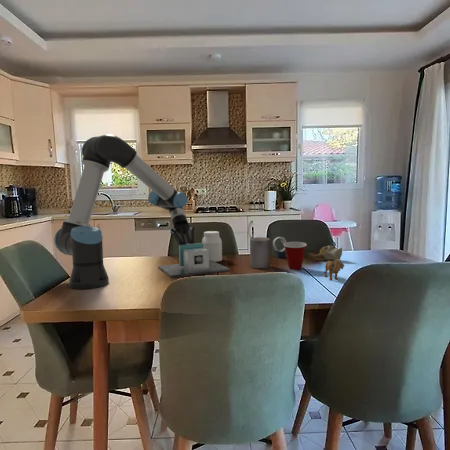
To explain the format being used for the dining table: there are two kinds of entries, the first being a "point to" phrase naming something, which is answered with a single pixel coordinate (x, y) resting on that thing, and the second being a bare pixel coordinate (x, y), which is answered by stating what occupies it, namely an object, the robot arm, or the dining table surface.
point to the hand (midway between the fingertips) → (190, 255)
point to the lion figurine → (333, 268)
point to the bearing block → (193, 264)
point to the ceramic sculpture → (329, 253)
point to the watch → (281, 252)
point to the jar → (213, 245)
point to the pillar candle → (259, 252)
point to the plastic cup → (295, 254)
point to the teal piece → (190, 246)
